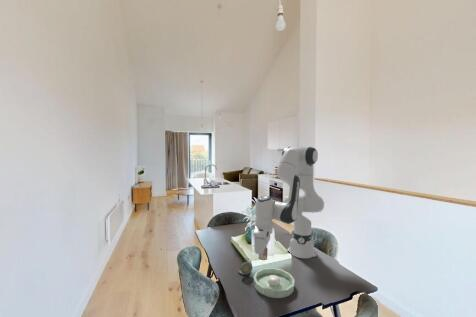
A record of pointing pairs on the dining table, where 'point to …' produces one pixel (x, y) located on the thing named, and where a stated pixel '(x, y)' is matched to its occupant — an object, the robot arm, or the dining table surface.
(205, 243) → the dining table surface
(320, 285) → the dining table surface
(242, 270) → the pocket watch
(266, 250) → the bead
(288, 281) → the groove tray
